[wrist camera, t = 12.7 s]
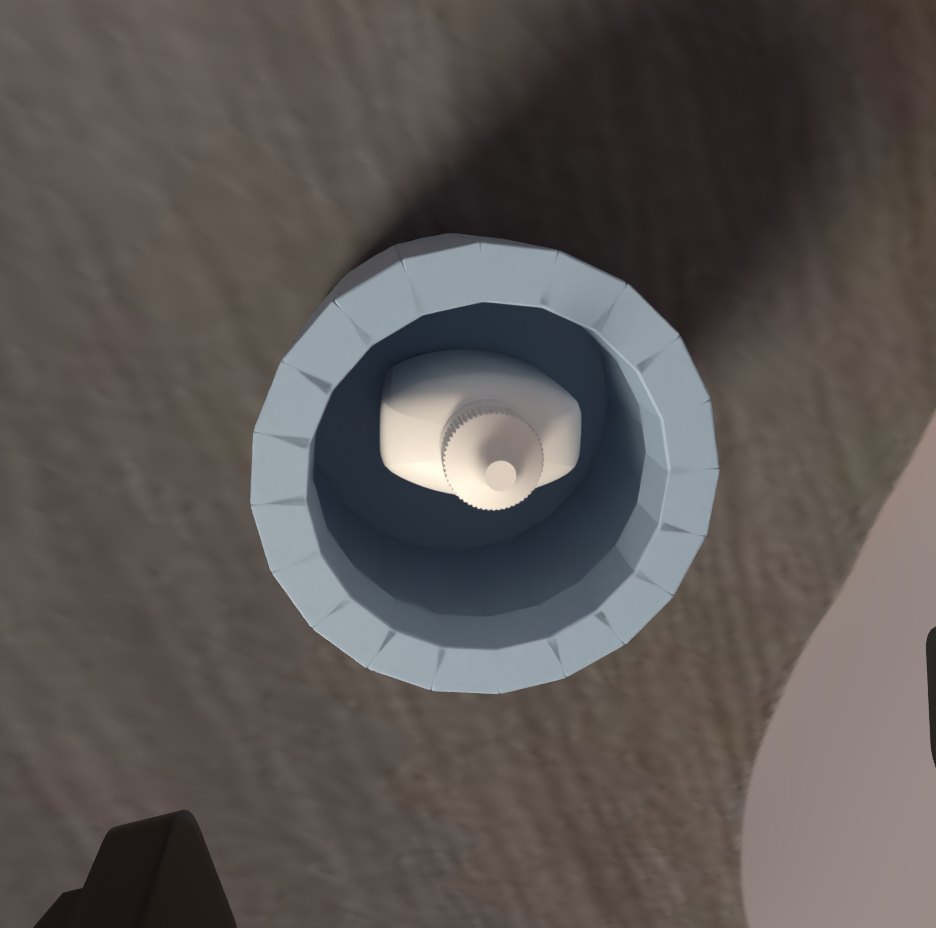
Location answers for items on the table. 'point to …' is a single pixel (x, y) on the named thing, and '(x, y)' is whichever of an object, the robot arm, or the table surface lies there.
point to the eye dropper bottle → (477, 426)
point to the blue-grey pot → (454, 521)
